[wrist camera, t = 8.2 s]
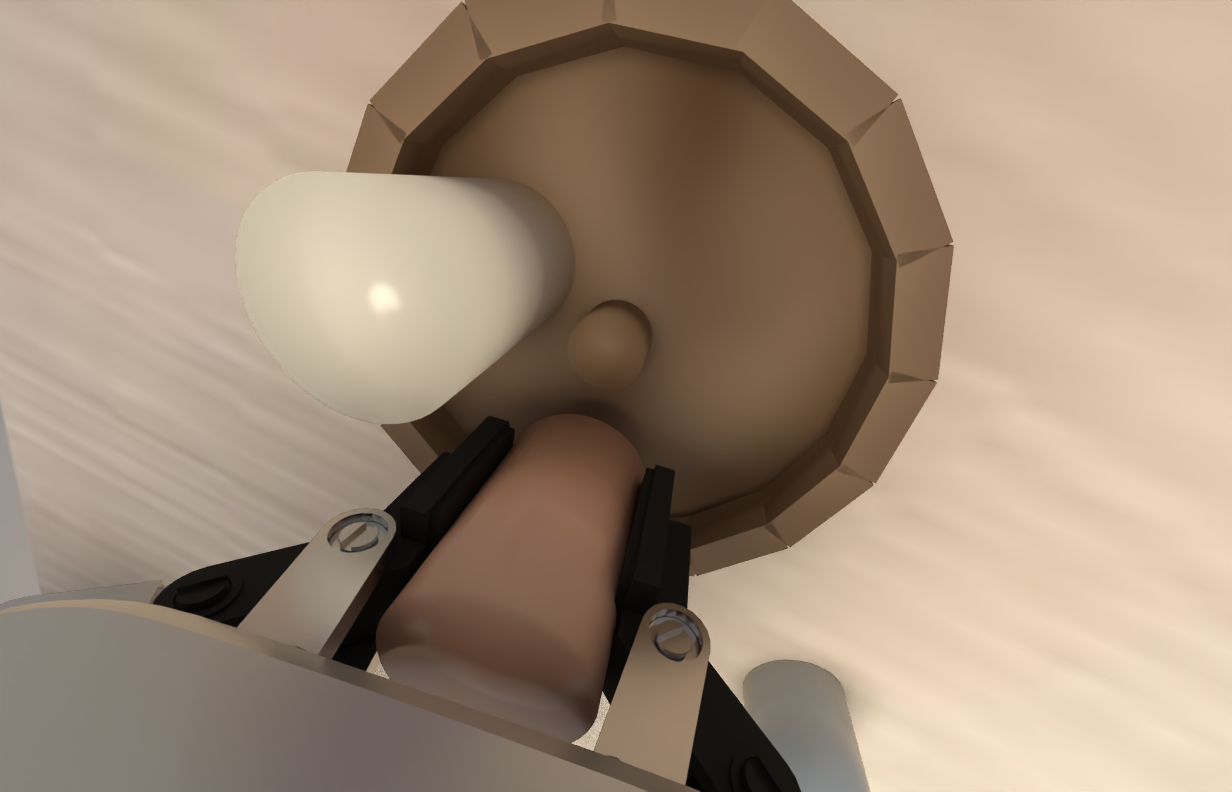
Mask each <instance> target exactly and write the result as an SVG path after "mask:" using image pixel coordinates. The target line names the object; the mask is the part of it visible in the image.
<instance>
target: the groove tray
mask: <svg viewBox="0 0 1232 792" xmlns="http://www.w3.org/2000/svg"><path fill="white" fill-rule="evenodd" d="M465 3H466V5H465V4H464V3H462V2H461V3H460V4H459V5H458V6H457V7H456V8H455V9H454V10H453V11H452V12H451V13H450V15H449V16H448V17H447V18H446V19H445V20H444V21H443V22H442V23H441V24H440V25H439V26H438V27H437V29H436V30H435V31H434V32H433V33H432V34H431V35H430V36H429V37H428V38H427V39H426V40H425V41H424V43H423V44H422V45H421V46H420V47H419V48H418V49H417V50H416V51H415V52H414V53H413V54H412V55H411V57H410V58H409V59H408V60H407V61H406V62H405V63H404V64H403V65H402V66H401V67H400V68H399V69H398V71H397V72H396V73H395V74H394V75H393V76H392V77H391V78H390V79H389V80H388V81H387V82H386V83H385V85H384V86H383V87H382V88H381V89H380V90H379V91H378V92H377V93H376V94H375V95H374V96H373V97H372V99H371V100H370V102H371V103H372V105H371V104H368V105H367V108H366V111H365V114H364V118H363V121H362V124H361V127H360V130H359V133H358V137H357V140H356V143H355V146H354V149H353V152H352V156H351V159H350V162H349V165H348V168H347V171H346V172H350V173H373V174H397V175H420V176H444V177H468V178H491V179H506V180H512V181H516V182H519V183H522V184H524V185H526V186H528V187H530V188H532V189H534V190H535V191H537V192H538V193H540V194H541V195H542V196H543V197H545V198H546V199H547V200H548V201H549V202H550V203H551V204H552V205H553V206H554V208H555V209H556V210H557V211H558V213H559V214H560V216H561V217H562V219H563V221H564V223H565V224H566V226H567V229H568V231H569V234H570V236H571V239H572V243H573V247H574V254H575V274H574V280H573V284H572V287H571V290H570V293H569V295H568V297H567V299H566V300H565V302H564V304H563V305H562V306H561V308H560V309H559V310H558V311H557V312H556V313H555V314H554V315H553V316H552V317H550V318H549V319H548V320H547V321H545V322H544V323H543V324H542V325H541V326H539V327H538V328H537V329H536V330H534V331H533V332H532V333H531V334H529V335H528V336H527V337H526V338H524V339H523V340H522V341H521V342H520V343H518V344H517V345H516V346H515V347H513V348H512V349H511V350H510V351H508V352H507V353H506V354H505V355H504V356H502V357H501V358H500V359H499V360H497V361H496V362H495V363H494V364H492V365H491V366H490V367H489V368H488V369H486V370H485V371H484V372H483V373H481V374H480V375H479V376H478V377H476V378H475V379H474V380H473V381H471V382H470V383H469V384H468V385H467V386H465V387H464V388H463V389H462V390H460V391H459V392H458V393H457V394H455V395H454V396H453V397H452V398H451V399H449V400H448V401H447V402H446V403H444V404H443V405H442V406H441V407H439V408H438V409H436V410H435V411H434V412H432V413H431V414H429V415H427V416H425V417H423V418H421V419H418V420H414V421H411V422H407V423H400V424H382V425H381V427H382V428H383V429H384V430H385V431H386V432H387V434H388V435H389V436H390V437H391V438H392V439H393V441H394V442H395V443H396V444H397V445H398V447H399V448H400V449H401V450H402V451H403V452H404V454H405V455H406V456H407V457H408V458H409V460H410V461H411V462H412V463H413V464H414V465H415V467H416V468H417V469H418V470H419V471H420V472H421V473H422V472H423V471H424V470H425V469H426V468H427V467H428V466H429V465H431V464H432V463H433V462H434V461H435V460H436V459H437V458H438V457H439V456H440V455H441V454H442V453H444V452H449V453H453V452H454V451H455V449H456V448H457V447H458V446H459V445H460V444H461V443H462V442H463V441H464V440H465V439H466V438H467V437H468V436H469V435H470V434H471V433H472V432H473V431H474V430H475V429H476V428H477V427H478V426H479V425H480V424H481V423H482V422H483V421H484V420H485V419H486V418H487V417H488V416H493V417H496V418H499V419H503V420H506V421H509V424H510V427H512V428H514V430H515V434H514V441H513V445H514V444H515V442H516V441H517V440H518V438H519V437H520V436H521V435H522V433H523V432H524V431H525V430H526V429H527V428H528V427H529V426H531V425H532V424H534V423H535V422H537V421H539V420H541V419H543V418H546V417H549V416H553V415H559V414H577V415H584V416H588V417H592V418H594V419H597V420H600V421H602V422H604V423H606V424H608V425H610V426H611V427H613V428H615V429H616V430H617V431H619V432H620V433H621V434H622V435H624V436H625V437H626V438H627V439H628V440H629V441H630V443H631V444H632V445H633V446H634V448H635V449H636V451H637V452H638V454H639V456H640V458H641V460H642V463H643V465H644V469H645V471H646V468H651V469H654V468H655V465H659V466H663V467H666V468H670V469H673V470H675V477H674V485H673V492H672V500H671V508H670V516H669V519H670V520H674V521H677V522H680V523H684V524H687V525H690V526H691V549H690V567H689V576H694V572H695V574H696V575H697V576H698V575H701V574H705V573H708V572H711V571H714V570H718V569H721V568H724V567H728V566H731V565H734V564H738V563H741V562H744V561H748V560H751V559H754V558H758V557H761V556H764V555H767V554H771V553H774V552H777V551H781V550H784V549H787V548H788V547H787V545H788V546H789V547H791V546H792V545H794V544H795V543H797V542H798V541H799V540H801V539H802V538H803V537H805V536H806V535H807V534H809V533H810V532H811V531H813V530H814V529H815V528H817V527H818V526H819V525H821V524H822V523H823V522H825V521H826V520H828V519H829V518H830V517H832V516H833V515H834V514H836V513H837V512H838V511H840V510H841V509H842V508H844V507H845V506H846V505H848V504H849V503H850V502H852V501H853V500H855V499H856V498H857V497H859V496H860V495H861V494H863V493H864V492H865V491H867V490H868V489H869V488H871V487H872V486H873V483H872V482H874V483H876V482H877V480H878V479H879V477H880V475H881V474H882V472H883V470H884V469H885V467H886V465H887V464H888V462H889V461H890V459H891V457H892V456H893V454H894V452H895V451H896V449H897V447H898V446H899V444H900V442H901V441H902V439H903V438H904V436H905V434H906V433H907V431H908V429H909V428H910V426H911V424H912V423H913V421H914V419H915V418H916V416H917V415H918V413H919V411H920V410H921V408H922V406H923V405H924V403H925V401H926V400H927V398H928V396H929V395H930V393H931V392H932V390H933V388H934V387H935V385H936V382H935V381H934V380H938V375H939V366H940V358H941V349H942V341H943V332H944V324H945V315H946V307H947V298H948V290H949V281H950V273H951V264H952V256H953V247H954V246H953V245H948V244H950V243H952V242H953V240H952V237H951V234H950V231H949V229H948V226H947V223H946V220H945V218H944V215H943V212H942V210H941V207H940V204H939V201H938V199H937V196H936V193H935V190H934V188H933V185H932V182H931V179H930V177H929V174H928V171H927V168H926V166H925V163H924V160H923V158H922V155H921V152H920V149H919V147H918V144H917V141H916V138H915V136H914V133H913V130H912V127H911V125H910V122H909V119H908V117H907V114H906V111H905V108H904V106H903V103H902V100H901V98H900V99H898V100H896V101H894V102H892V101H893V100H894V99H895V98H896V97H897V95H898V94H897V93H896V92H895V91H894V90H893V89H891V88H890V87H889V86H888V85H887V84H886V83H885V82H883V81H882V80H881V79H880V78H879V77H878V76H877V75H876V74H874V73H873V72H872V71H871V70H870V69H869V68H868V67H866V66H865V65H864V64H863V63H862V62H861V61H860V60H859V59H857V58H856V57H855V56H854V55H853V54H852V53H851V52H849V51H848V50H847V49H846V48H845V47H844V46H843V45H842V44H840V43H839V42H838V41H837V40H836V39H835V38H834V37H832V36H831V35H830V34H829V33H828V32H827V31H826V30H825V29H823V28H822V27H821V26H820V25H819V24H818V23H817V22H815V21H814V20H813V19H812V18H811V17H810V16H809V15H807V14H806V13H805V12H804V11H803V10H802V9H801V8H800V7H798V6H797V5H796V4H795V3H794V2H793V1H792V0H465Z"/></svg>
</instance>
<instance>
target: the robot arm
mask: <svg viewBox="0 0 1232 792" xmlns="http://www.w3.org/2000/svg"><path fill="white" fill-rule="evenodd" d="M514 434H515V430H514V428H512V427H510V424H509V421H506V420H503V419H499V418H496V417H493V416H488V417H487V418H486V419H485V420H484V421H483V422H482V423H481V424H480V425H479V426H478V427H477V428H476V429H475V430H474V431H473V432H472V433H471V434H470V435H469V436H468V437H467V438H466V439H465V440H464V441H463V442H462V443H461V444H460V445H459V446H458V447H457V448H456V449H455V451H454V452H453V453H449V452H444V453H442V454H441V455H440V456H439V457H438V458H437V459H436V460H435V461H434V462H433V463H432V464H431V465H429V466H428V467H427V468H426V469H425V470H424V471H423V472H422V473H421V474H420V475H419V476H418V477H417V478H416V479H415V480H414V481H413V482H412V483H411V484H410V485H409V486H408V487H407V488H406V489H405V490H404V491H403V492H402V493H401V494H400V495H399V496H398V497H397V498H396V499H395V500H394V501H393V502H392V503H391V504H390V505H389V506H388V507H387V508H386V509H385V510H384V511H381V510H378V509H370V508H362V509H354V510H351V511H348V512H345V513H342V514H340V515H338V516H336V517H334V518H333V519H331V520H330V521H329V522H328V523H327V524H326V525H324V526H323V528H322V529H321V530H320V531H319V532H318V533H317V535H316V536H315V537H314V538H313V539H312V540H311V542H308V543H304V544H300V545H295V546H291V547H287V548H283V549H279V550H275V551H270V552H266V553H262V554H258V555H254V556H250V557H246V558H241V559H237V560H233V561H229V562H225V563H221V564H217V565H212V566H208V567H205V568H202V569H199V570H196V571H193V572H191V573H189V574H187V575H185V576H183V577H181V578H179V579H177V580H175V581H174V582H173V583H171V584H170V585H169V586H164V585H163V583H162V580H161V581H153V582H144V583H136V584H127V585H119V586H111V587H102V588H94V589H85V590H77V591H68V592H60V593H52V594H43V595H36V596H29V597H24V598H20V599H15V600H10V601H8V602H5V603H2V604H0V792H801V790H800V787H799V784H798V782H797V779H796V777H795V775H794V774H793V772H792V771H791V769H790V767H789V766H788V764H787V763H786V761H785V760H784V759H783V757H782V756H781V755H780V754H779V752H778V751H777V750H776V748H775V747H774V746H773V744H772V743H771V742H770V740H769V739H768V738H767V737H766V735H765V734H764V733H763V731H762V730H761V729H760V727H759V726H758V725H757V724H756V722H755V721H754V720H753V718H752V717H751V716H750V714H749V713H748V712H747V711H746V709H745V708H744V707H743V705H742V704H741V703H740V701H739V700H738V699H737V697H736V696H735V695H734V694H733V692H732V691H731V690H730V688H729V687H728V686H727V684H726V683H725V682H724V681H723V679H722V678H721V677H720V675H719V674H718V673H717V671H716V670H715V669H714V668H713V666H712V665H711V664H710V662H709V661H708V660H709V655H710V638H709V635H708V632H707V629H706V628H705V626H704V624H703V623H702V621H701V620H700V619H699V618H698V617H697V616H696V615H695V614H694V613H693V612H691V611H690V610H688V609H687V603H688V585H689V567H690V549H691V526H690V525H687V524H684V523H680V522H677V521H674V520H670V519H669V516H670V508H671V500H672V492H673V485H674V477H675V470H673V469H670V468H666V467H663V466H659V465H655V468H654V469H651V468H646V471H645V475H644V478H643V481H642V485H641V489H640V493H639V498H638V502H637V506H636V510H635V515H634V519H633V523H632V528H631V532H630V536H629V540H628V545H627V549H626V553H625V558H624V562H623V566H622V570H621V575H620V579H619V583H618V588H617V592H616V596H615V600H614V601H615V605H616V611H617V625H616V629H615V634H614V639H613V643H612V648H611V653H610V657H609V662H608V667H607V671H606V676H605V681H604V685H603V690H602V691H603V693H604V695H605V696H606V698H607V700H608V702H609V704H610V708H609V710H608V713H607V716H606V718H605V721H604V724H603V727H602V729H601V732H600V735H599V738H598V740H597V743H596V746H595V748H594V751H591V750H588V749H586V748H583V747H580V746H577V745H574V744H571V743H569V742H566V741H563V740H560V739H557V738H555V737H552V736H549V735H546V734H543V733H540V732H538V731H535V730H532V729H529V728H526V727H524V726H521V725H518V724H515V723H512V722H509V721H507V720H504V719H501V718H498V717H495V716H492V715H490V714H487V713H484V712H481V711H478V710H475V709H472V708H470V707H467V706H464V705H461V704H458V703H455V702H452V701H450V700H447V699H444V698H441V697H438V696H435V695H432V694H429V693H427V692H424V691H421V690H418V689H415V688H412V687H409V686H406V685H404V684H401V683H398V682H395V681H392V680H389V679H386V678H383V677H381V676H378V675H375V674H374V673H375V671H376V669H377V667H378V665H379V663H380V659H379V656H378V653H377V648H376V631H377V627H378V624H379V622H380V620H381V618H382V616H383V615H384V613H385V612H386V611H387V609H388V608H389V607H390V606H391V604H392V603H393V602H394V600H395V599H396V598H397V596H398V595H399V594H400V593H401V591H402V590H403V589H404V587H405V586H406V585H407V583H408V582H409V581H410V579H411V578H412V577H413V576H414V574H415V573H416V572H417V570H418V569H419V568H420V566H421V565H422V564H423V562H424V561H425V560H426V559H427V557H428V556H429V555H430V553H431V552H432V551H433V549H434V548H435V547H436V546H437V544H438V543H439V542H440V541H441V539H442V538H443V537H444V535H445V534H446V533H447V531H448V530H449V529H450V527H451V526H452V525H453V524H454V522H455V521H456V520H457V518H458V517H459V516H460V514H461V513H462V512H463V510H464V509H465V508H466V507H467V505H468V504H469V503H470V501H471V500H472V499H473V497H474V496H475V495H476V493H477V492H478V491H479V490H480V488H481V487H482V486H483V484H484V483H485V482H486V480H487V479H488V478H489V476H490V475H491V474H492V473H493V471H494V470H495V469H496V467H497V466H498V465H499V463H500V462H501V461H502V459H503V458H504V457H505V456H506V454H507V453H508V452H509V450H510V449H511V448H512V446H513V441H514Z"/></svg>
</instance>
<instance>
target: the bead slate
mask: <svg viewBox="0 0 1232 792" xmlns="http://www.w3.org/2000/svg"><path fill="white" fill-rule="evenodd" d="M743 693H744V708H745V709H746V711H747V712H748V713H749V714H750V716H751V717H752V718H753V720H754V721H755V722H756V724H757V725H758V726H759V727H760V729H761V730H762V731H763V733H764V734H765V735H766V737H767V738H768V739H769V740H770V742H771V743H772V744H773V746H774V747H775V748H776V750H777V751H778V752H779V754H780V755H781V756H782V757H783V759H784V760H785V761H786V763H787V764H788V766H789V767H790V769H791V771H792V772H793V774H794V775H795V777H796V779H797V782H798V784H799V787H800V790H801V792H870V788H869V785H868V781H867V777H866V773H865V770H864V766H863V762H862V758H861V754H860V751H859V747H858V743H857V739H856V736H855V732H854V728H853V724H852V720H851V717H850V713H849V709H848V705H847V702H846V698H845V694H844V690H843V687H842V685H841V684H840V682H839V681H838V680H837V679H836V678H835V677H834V676H833V675H832V674H831V673H829V672H828V671H826V670H825V669H823V668H821V667H818V666H816V665H813V664H810V663H806V662H801V661H794V660H779V661H772V662H768V663H765V664H762V665H760V666H758V667H756V668H754V669H753V670H752V671H751V672H749V673H748V675H747V676H746V678H745V680H744V683H743Z"/></svg>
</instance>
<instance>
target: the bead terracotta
mask: <svg viewBox="0 0 1232 792" xmlns="http://www.w3.org/2000/svg"><path fill="white" fill-rule="evenodd" d="M644 475H645V469H644V465H643V463H642V460H641V458H640V456H639V454H638V452H637V451H636V449H635V448H634V446H633V445H632V444H631V443H630V441H629V440H628V439H627V438H626V437H625V436H624V435H622V434H621V433H620V432H619V431H617V430H616V429H615V428H613V427H611V426H610V425H608V424H606V423H604V422H602V421H600V420H597V419H594V418H592V417H588V416H584V415H577V414H559V415H553V416H549V417H546V418H543V419H541V420H539V421H537V422H535V423H534V424H532V425H531V426H529V427H528V428H527V429H526V430H525V431H524V432H523V433H522V435H521V436H520V437H519V438H518V440H517V441H516V442H515V444H514V445H513V446H512V448H511V449H510V450H509V452H508V453H507V454H506V456H505V457H504V458H503V459H502V461H501V462H500V463H499V465H498V466H497V467H496V469H495V470H494V471H493V473H492V474H491V475H490V476H489V478H488V479H487V480H486V482H485V483H484V484H483V486H482V487H481V488H480V490H479V491H478V492H477V493H476V495H475V496H474V497H473V499H472V500H471V501H470V503H469V504H468V505H467V507H466V508H465V509H464V510H463V512H462V513H461V514H460V516H459V517H458V518H457V520H456V521H455V522H454V524H453V525H452V526H451V527H450V529H449V530H448V531H447V533H446V534H445V535H444V537H443V538H442V539H441V541H440V542H439V543H438V544H437V546H436V547H435V548H434V549H433V551H432V552H431V553H430V555H429V556H428V557H427V559H426V560H425V561H424V562H423V564H422V565H421V566H420V568H419V569H418V570H417V572H416V573H415V574H414V576H413V577H412V578H411V579H410V581H409V582H408V583H407V585H406V586H405V587H404V589H403V590H402V591H401V593H400V594H399V595H398V596H397V598H396V599H395V600H394V602H393V603H392V604H391V606H390V607H389V608H388V609H387V611H386V612H385V613H384V615H383V616H382V618H381V620H380V622H379V624H378V627H377V631H376V648H377V653H378V656H379V659H380V662H381V664H382V666H383V668H384V670H385V672H386V673H387V675H388V676H389V678H390V680H392V681H395V682H398V683H401V684H404V685H406V686H409V687H412V688H415V689H418V690H421V691H424V692H427V693H429V694H432V695H435V696H438V697H441V698H444V699H447V700H450V701H452V702H455V703H458V704H461V705H464V706H467V707H470V708H472V709H475V710H478V711H481V712H484V713H487V714H490V715H492V716H495V717H498V718H501V719H504V720H507V721H509V722H512V723H515V724H518V725H521V726H524V727H526V728H529V729H532V730H535V731H538V732H540V733H543V734H546V735H549V736H552V737H555V738H557V739H560V740H563V741H566V742H569V743H572V742H574V741H576V740H577V739H579V738H581V737H582V736H583V735H584V734H585V733H587V732H588V730H589V729H590V728H591V727H592V725H593V723H594V721H595V719H596V717H597V713H598V709H599V704H600V699H601V695H602V690H603V685H604V681H605V676H606V671H607V667H608V662H609V657H610V653H611V648H612V643H613V639H614V634H615V629H616V625H617V611H616V605H615V601H614V600H615V596H616V592H617V588H618V583H619V579H620V575H621V570H622V566H623V562H624V558H625V553H626V549H627V545H628V540H629V536H630V532H631V528H632V523H633V519H634V515H635V510H636V506H637V502H638V498H639V493H640V489H641V485H642V481H643V478H644Z"/></svg>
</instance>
